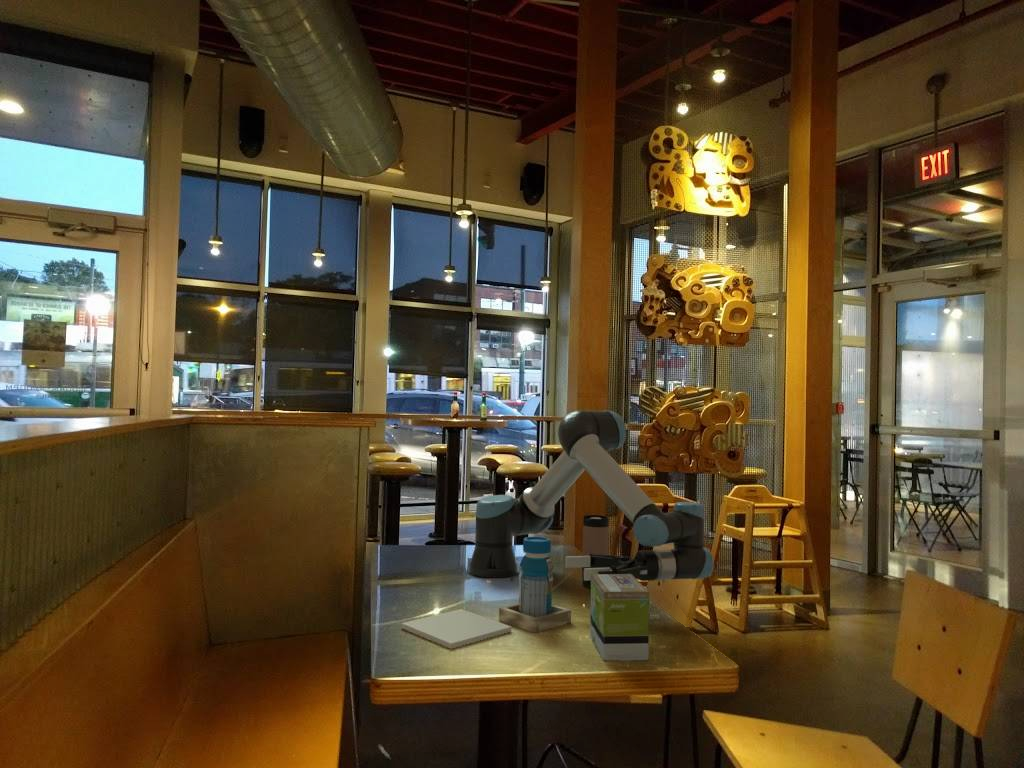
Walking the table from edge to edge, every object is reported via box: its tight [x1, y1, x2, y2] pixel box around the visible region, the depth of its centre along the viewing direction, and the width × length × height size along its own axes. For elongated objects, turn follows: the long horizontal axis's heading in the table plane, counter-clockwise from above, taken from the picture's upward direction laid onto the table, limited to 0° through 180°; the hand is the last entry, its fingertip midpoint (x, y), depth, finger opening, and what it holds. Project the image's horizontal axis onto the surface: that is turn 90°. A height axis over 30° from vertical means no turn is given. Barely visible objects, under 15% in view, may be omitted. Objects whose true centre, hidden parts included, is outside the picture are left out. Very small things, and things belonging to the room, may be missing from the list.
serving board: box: [401, 608, 512, 650], centre depth 164 cm, size 18×18×1 cm
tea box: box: [589, 574, 650, 662], centre depth 155 cm, size 15×10×15 cm, turn 5°
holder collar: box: [498, 602, 572, 634], centre depth 173 cm, size 12×12×3 cm
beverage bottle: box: [518, 536, 554, 618], centre depth 173 cm, size 8×8×20 cm
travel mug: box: [581, 514, 610, 588], centre depth 210 cm, size 8×8×20 cm
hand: (574, 568), depth 175 cm, fingers open, 13 cm apart
